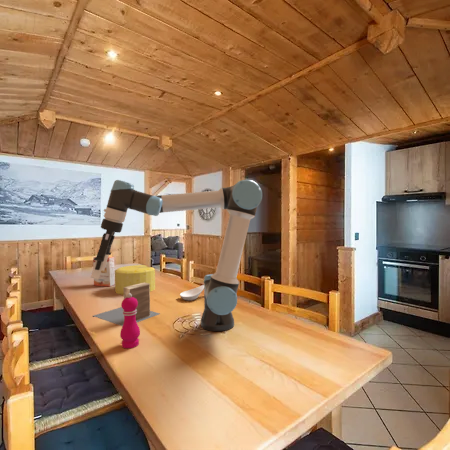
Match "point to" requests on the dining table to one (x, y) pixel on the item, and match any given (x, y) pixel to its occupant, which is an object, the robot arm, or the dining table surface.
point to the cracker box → (106, 274)
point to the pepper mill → (130, 323)
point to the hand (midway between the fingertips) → (97, 273)
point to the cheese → (134, 277)
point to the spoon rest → (192, 293)
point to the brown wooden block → (140, 298)
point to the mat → (119, 316)
